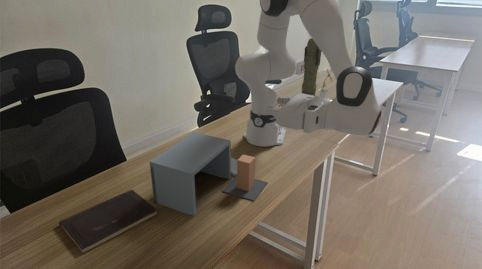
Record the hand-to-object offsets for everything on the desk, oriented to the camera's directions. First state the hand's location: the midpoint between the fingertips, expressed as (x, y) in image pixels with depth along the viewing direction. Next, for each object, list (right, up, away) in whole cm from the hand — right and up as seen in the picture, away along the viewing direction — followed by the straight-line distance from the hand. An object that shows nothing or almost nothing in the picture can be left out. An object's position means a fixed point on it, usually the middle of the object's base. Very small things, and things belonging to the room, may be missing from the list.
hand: (272, 104), depth 98 cm
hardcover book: (-49, -35, 0) cm, 60 cm away
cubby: (-25, -28, +15) cm, 40 cm away
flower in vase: (+34, +2, +82) cm, 89 cm away
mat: (-8, -27, +17) cm, 33 cm away
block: (-8, -27, +17) cm, 33 cm away
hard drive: (-13, -22, +30) cm, 39 cm away
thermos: (+34, +16, +113) cm, 119 cm away
